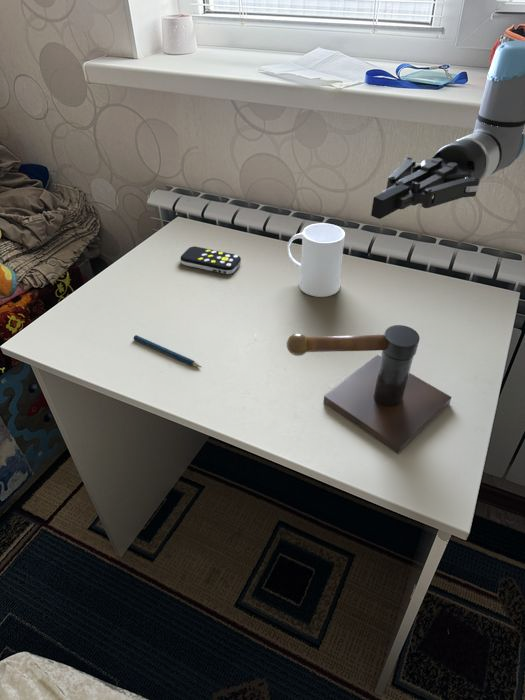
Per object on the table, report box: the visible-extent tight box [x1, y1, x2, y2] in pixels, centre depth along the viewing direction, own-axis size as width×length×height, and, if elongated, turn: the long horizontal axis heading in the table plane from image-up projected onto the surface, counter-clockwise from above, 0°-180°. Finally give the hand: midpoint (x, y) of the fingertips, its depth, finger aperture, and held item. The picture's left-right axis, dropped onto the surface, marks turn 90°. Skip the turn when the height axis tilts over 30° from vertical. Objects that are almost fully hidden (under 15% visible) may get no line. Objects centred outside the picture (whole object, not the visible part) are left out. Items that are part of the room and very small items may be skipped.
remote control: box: [179, 245, 242, 275], centre depth 111 cm, size 6×13×2 cm, turn 69°
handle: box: [286, 324, 421, 360], centre depth 71 cm, size 18×5×3 cm, turn 92°
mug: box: [286, 222, 346, 298], centre depth 101 cm, size 12×8×12 cm
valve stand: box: [323, 350, 452, 455], centre depth 76 cm, size 14×14×11 cm
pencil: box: [133, 334, 202, 368], centre depth 88 cm, size 1×1×15 cm
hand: (376, 208), depth 69 cm, fingers closed
